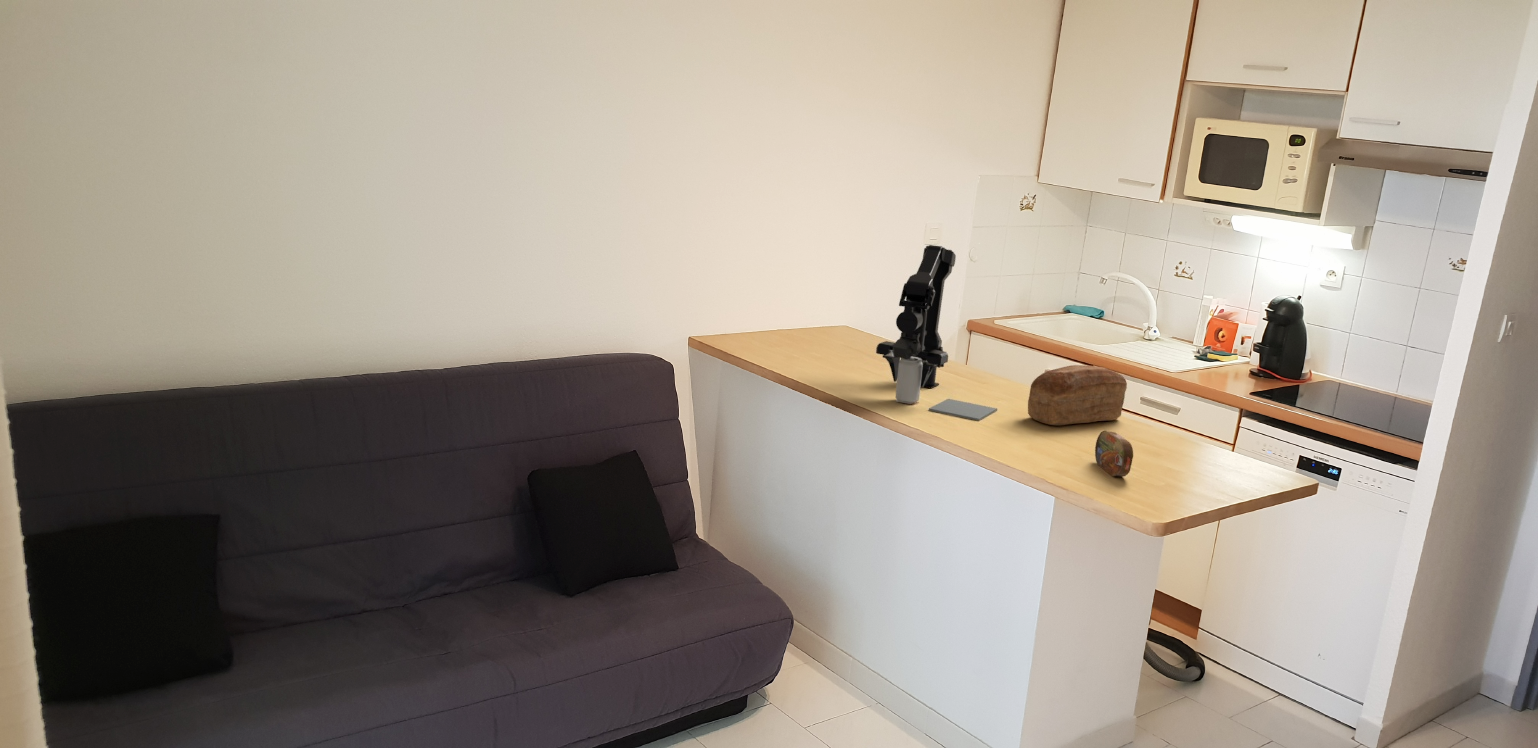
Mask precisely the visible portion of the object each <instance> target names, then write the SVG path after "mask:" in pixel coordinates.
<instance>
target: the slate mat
mask: <svg viewBox="0 0 1538 748" xmlns="http://www.w3.org/2000/svg"><path fill="white" fill-rule="evenodd" d="M929 411H930V412H934V413H940V414H944V415H948V416H953V417H957V416H958V418H962V417H963V419H968V420H971V419H972V420H971V421H976V420H978V421H977V422H981V421H982V420H984V419H985V418H987V417H988V416H990V415H992V414H994V413H996V412H997V411H998V408H996V407H991V406H986V405H982V404H978V403H973V402H972V403H971V402H967V401H962V400H958V399H953V398H952V399H951V398H947V399H945V400H942V401H941V402H939V403H937V404H935V405H933V406H931V407H929V408H928V412H929Z"/></svg>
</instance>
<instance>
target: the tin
mask: <svg viewBox="0 0 1538 748" xmlns="http://www.w3.org/2000/svg"><path fill="white" fill-rule="evenodd" d="M1094 456H1095V461H1096V464H1097V466H1099V467H1100V468H1101V469H1103V470H1104V471H1105V472H1106V473H1108V474H1109V475H1110V476H1111V477H1122V478H1123V477H1126V476H1127V475H1128V474H1130V472H1131V467H1132V465H1133V464H1132V463H1133V459H1134V450H1133V446H1132V444H1131V442H1130V441H1129V440H1127V439H1126V438H1125V437H1123V436H1121V435H1120V434H1119V433H1117V432H1115V431H1109V430H1105V429H1104V430H1102V431H1101V432H1100V433H1099V434H1098V437H1097V438H1096V441H1095V448H1094Z"/></svg>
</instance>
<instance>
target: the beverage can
mask: <svg viewBox="0 0 1538 748" xmlns="http://www.w3.org/2000/svg"><path fill="white" fill-rule="evenodd" d="M921 361H922V359H921V358H918V357H912V356H911V358H910V359H904V358H900V361H899V366H898V377H897V381H896V389H895V400H898V401H899V402H898V403H901V404H902V403H903V404H907V403H909V404H908V405H911V404H912V403H916V402H920V394H921V387H920V386H921V377H922V367H923V363H922V362H921Z"/></svg>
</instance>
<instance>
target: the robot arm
mask: <svg viewBox="0 0 1538 748" xmlns="http://www.w3.org/2000/svg"><path fill="white" fill-rule="evenodd" d="M922 255H923V256H922V258H921V259H922V260H921V262H920V264H919V267H918V269H917V271H916V273H915V274H912V275H910V276H909V278H908V279H907V281H906V282H905V283H904V284H903V288H902V291H901V295H900V299H899V303H898V306H899V307H904V309H903V311H902V312H900V313H899V314H898V315H897V317H896V319H895V325H896V327H897V329H898V330H899V331H900V336H899V339H897V340H896V341H895V342H893V341H889V340H885V341H882V342H879V343H878V344H877V346H876V349H875V353H876V354H878V355H882V358H883V359H885V360H886V361H887V363H888V365H889V367H890V372H891V376H892V379H893V382H896V383H897V377H898V366H899V361H900V360H901V358H904V359H910V358H911V356H912V357H918V358H921V359H922V361H921V362H922V363H923V367H922V377H921V386H920V388H921V387H922V388H927V389H933V388H935V387H938V386H939V385H940V383H939V382H936V376H937V369H940V368H943V367H945V366H944V365H945V364H946V363H948V362H949V360H948V359H949V355H948V353H947V351H944V349H943V345H942V344H943V343H942V342H943V340H942V339H941V336H940V334H939V325H940V319H941V318H940V317H941V311H942V310H941V309H942V303H943V302H942V301H943V295H944V289H945V281H946V279H948V278H949V276H950V275H951V273H952V271H953V267H954V266H955V264H956V254H955V251H953V250H952V249H947V248H945V247H943V246H941V245H935V244H934V245H932V244H929V245H926V246H925V248H924V249H923V254H922Z"/></svg>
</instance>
